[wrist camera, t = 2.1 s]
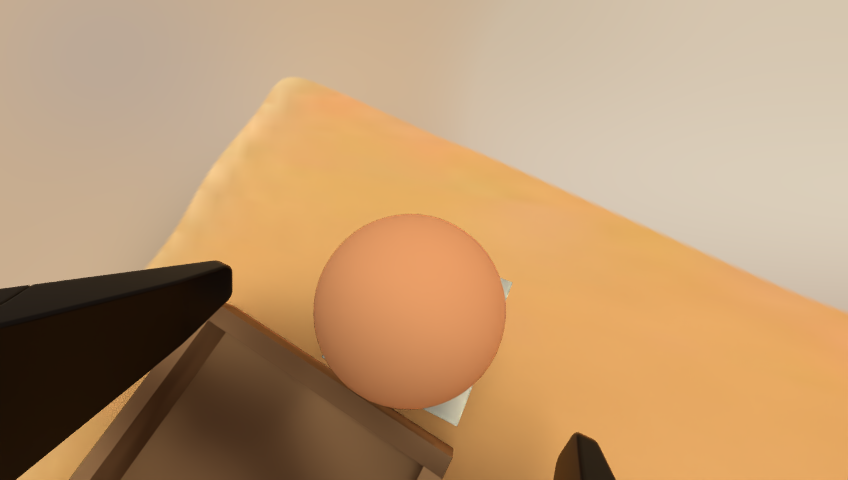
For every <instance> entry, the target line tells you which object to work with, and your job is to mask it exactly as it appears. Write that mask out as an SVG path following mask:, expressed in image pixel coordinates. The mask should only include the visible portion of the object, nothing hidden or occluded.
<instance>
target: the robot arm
mask: <svg viewBox="0 0 848 480" xmlns="http://www.w3.org/2000/svg"><path fill="white" fill-rule="evenodd" d="M231 295H232V269H231V267H230V266H228V265H226V264H224V263H222V262H220V261H207V262H200V263H192V264H185V265H177V266H170V267H162V268H155V269H147V270H140V271H132V272H125V273H117V274H110V275H103V276H94V277H87V278H80V279H72V280H64V281H57V282H49V283H42V284H35V285H32V286H28V285H26V286H18V287H12V288H3V289H0V480H16V479H17V478H19V477H20V476H21V475H22V474H23V473H25V472H26V471H27V470H28V469H30V468H31V467H32V466H33V465H35V464H36V463H37V462H38V461H39V460H41V459H42V458H43V457H44V456H46V455H47V454H48V453H49V452H51V451H52V450H53V449H54V448H55V447H57V446H58V445H59V444H60V443H62V442H63V441H64V440H65V439H67V438H68V437H69V436H70V435H71V434H73V433H74V432H75V431H76V430H78V429H79V428H80V427H81V426H83V425H84V424H85V423H86V422H87V421H89V420H90V419H91V418H92V417H94V416H95V415H96V414H97V413H99V412H100V411H101V410H102V409H103V408H105V407H106V406H107V405H108V404H110V403H111V402H112V401H113V400H115V399H116V398H117V397H118V396H119V395H121V394H122V393H123V392H124V391H126V390H127V389H128V388H129V387H131V386H132V385H133V384H134V383H135V382H137V381H138V380H139V379H140V378H142V377H143V376H144V375H145V374H147V373H148V372H149V371H150V370H151V369H153V368H154V367H155V366H156V365H158V364H159V363H160V362H161V361H163V360H164V359H165V358H166V357H167V356H169V355H170V354H171V353H172V352H174V351H175V350H176V349H177V348H178V347H180V346H181V345H182V344H183V343H184V342H185V341H186V340H188V339H189V338H190V337H191V336H192V335H193V334H194V333H195V332H196V331H197V330H198V329H199V328H200V327H201V326H202V325H203V324H204V323H205V322H206V321H207V320H208V319H209V318H210V317H211V316H212V315H213V314H214V313H216V312H217V311H218V310H219V309H220V308H221V307H222V306H223V305H224V304H225V303H226V302H227V301H228V300H229V298H230V297H231ZM553 480H616V479H615V477H614V475H613V473H612V471H611V469H610V467H609V465H608V463H607V461H606V459H605V457H604V455H603V453H602V451H601V449H600V447H599V445H598V443H597V442H596V441H595V440H594V439H592V438H589V437H587V436H585V435H583V434H581V433H578V432H576V433H574V434H573V435H572V437H571V438H570V440H569V441H568V443H567V444H566V446H565V447H564V449H563V450H562V452H561V453H560V455H559V457H558V460H557V463H556V468H555V474H554V479H553Z"/></svg>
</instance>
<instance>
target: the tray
mask: <svg viewBox="0 0 848 480" xmlns="http://www.w3.org/2000/svg"><path fill="white" fill-rule="evenodd" d="M452 456H453V448H452V447H450V446H448V445H447V444H445V443H444V442H442V441H441V440H439V439H438V438H436V437H435V436H433V435H432V434H430V433H428V432H427V431H425V430H424V429H422V428H421V427H419V426H418V425H416V424H415V423H413V422H412V421H410V420H408V419H407V418H405V417H404V416H402V415H401V414H399V413H398V412H396V411H395V410H393V409H392V408H390V407H386V406H382V405H379V404H376V403H374V402H371V401H369V400H367V399H365V398H363V397H361V396H360V395H358V394H356V393H355V392H354V391H352V390H351V389H350V388H349V387H347V386H346V385H345V384H344V383H343V382H342V381H341V380H340V379H339V378H338V377H337V376H336V374H335V373H334V372H333V370H332V369H330V368H328V367H327V366H325V365H324V364H322V363H321V362H319V361H318V360H316V359H315V358H313V357H312V356H310V355H308V354H307V353H305V352H304V351H302V350H301V349H299V348H298V347H296V346H295V345H293V344H292V343H290V342H288V341H287V340H285V339H284V338H282V337H281V336H279V335H278V334H276V333H275V332H273V331H271V330H270V329H268V328H267V327H265V326H264V325H262V324H261V323H259V322H258V321H256V320H255V319H253V318H251V317H250V316H248V315H247V314H245V313H244V312H242V311H241V310H239V309H238V308H236V307H235V306H233V305H230V304H227V303H225V304H224V305H223V306H222V307H221V308H220V309H219V310H218V311H217V312H216V313H214V314H213V315H212V316H211V317H210V318H209V319H208V320H207V321H206V322H205V323H204V324H203V325H202V326H201V327H200V328H199V329H198V330H197V331H196V332H195V333H194V334H193V335H192V336H191V337H190V338H189V339H188V340H186V341H185V342H184V343H183V344H182V345H181V346H180V347H178V348H177V349H176V350H175V351H174V352H172V353H171V354H170V355H169V356H167V357H166V358H165V359H164V360H163V361H161V362H160V363H159V364H158V365H156V366H155V367H154V368H153V369H152V370H151V371H150V373H149V374H148V375H147V377H146V378H145V379H144V381H143V382H142V383H141V385H140V386H139V387H138V389H137V390H136V391H135V393H134V394H133V395H132V397H131V398H130V399H129V401H128V402H127V403H126V404H125V406H124V407H123V408H122V410H121V411H120V412H119V414H118V415H117V416H116V418H115V419H114V420H113V422H112V423H111V424H110V426H109V427H108V428H107V430H106V431H105V432H104V434H103V435H102V436H101V438H100V439H99V440H98V442H97V443H96V444H95V446H94V447H93V448H92V450H91V451H90V452H89V454H88V455H87V456H86V457H85V459H84V460H83V461H82V463H81V464H80V465H79V467H78V468H77V469H76V471H75V472H74V473H73V475H72V476H71V477H70V479H69V480H442V478H443V476H444V474H445V472H446V470H447V468H448V466H449V464H450V462H451V460H452Z"/></svg>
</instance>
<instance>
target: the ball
mask: <svg viewBox="0 0 848 480" xmlns="http://www.w3.org/2000/svg"><path fill="white" fill-rule="evenodd" d="M505 319H506V302H505V295H504V289H503V286H502V283H501V279H500V276H499V274H498V272H497V270H496V267H495V265H494V263H493V262H492V260H491V258H490V257H489V255H488V254H487V252H486V251H485V250H484V249H483V247H482V246H481V245H480V244H479V243H478V242H477V241H476V240H475V239H474V238H473V237H472V236H470V235H469V234H468V233H466V232H465V231H463V230H462V229H461V228H459V227H457V226H455V225H453V224H452V223H450V222H447V221H445V220H442V219H439V218H436V217H432V216H427V215H420V214H403V215H394V216H390V217H385V218H382V219H379V220H376V221H373V222H371V223H369V224H367V225H365V226H363V227H362V228H360V229H359V230H357V231H355V232H354V233H353V234H352V235H350V236H349V237H348V238H347V239H345V240H344V242H343V243H342V244H341V245H340V246H339V247H338V248H337V249H336V250H335V252H334V253H333V254H332V256H331V257H330V259H329V260H328V262H327V264H326V265H325V267H324V269H323V272H322V274H321V276H320V278H319V282H318V285H317V288H316V293H315V299H314V325H315V331H316V336H317V340H318V343H319V346H320V349H321V351H322V354H323V356H324V357H325V359H326V361H327V363H328V365H329V366H330V368H331V369H332V370H333V372H334V373H335V374H336V376H337V377H338V378H339V379H340V380H341V381H342V382H343V383H344V384H345V385H346V386H347V387H349V388H350V389H351V390H352V391H354V392H355V393H356V394H358V395H360V396H361V397H363V398H365V399H367V400H369V401H371V402H374V403H376V404H379V405H382V406H386V407H391V408H396V409H423V408H428V407H432V406H437V405H439V404H442V403H445V402H447V401H450V400H451V399H453V398H455V397H457V396H459V395H461V394H462V393H463V392H465V391H466V390H467V389H469V388H470V387H471V386H472V385H473V384H474V383H475V382H476V381H477V380H478V379H479V378H480V377H481V376H482V375H483V374H484V372H485V371H486V370H487V369H488V367H489V366H490V364H491V362H492V361H493V359H494V357H495V355H496V353H497V351H498V348H499V346H500V343H501V340H502V336H503V332H504V327H505Z"/></svg>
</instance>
